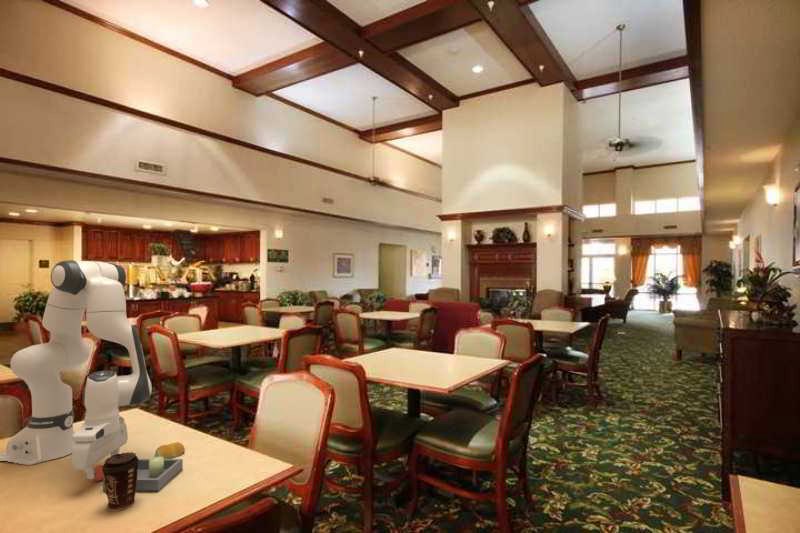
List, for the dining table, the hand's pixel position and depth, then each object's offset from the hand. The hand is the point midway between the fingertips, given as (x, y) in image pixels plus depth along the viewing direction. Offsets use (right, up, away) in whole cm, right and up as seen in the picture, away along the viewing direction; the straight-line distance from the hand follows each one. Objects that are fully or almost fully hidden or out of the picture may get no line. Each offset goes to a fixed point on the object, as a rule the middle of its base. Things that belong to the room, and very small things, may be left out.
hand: (102, 470), depth 134 cm
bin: (+13, -3, 0) cm, 14 cm away
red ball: (-1, 0, 0) cm, 1 cm away
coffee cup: (+15, -3, -14) cm, 21 cm away
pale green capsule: (+16, -2, +1) cm, 16 cm away
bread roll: (+11, -3, +18) cm, 21 cm away
